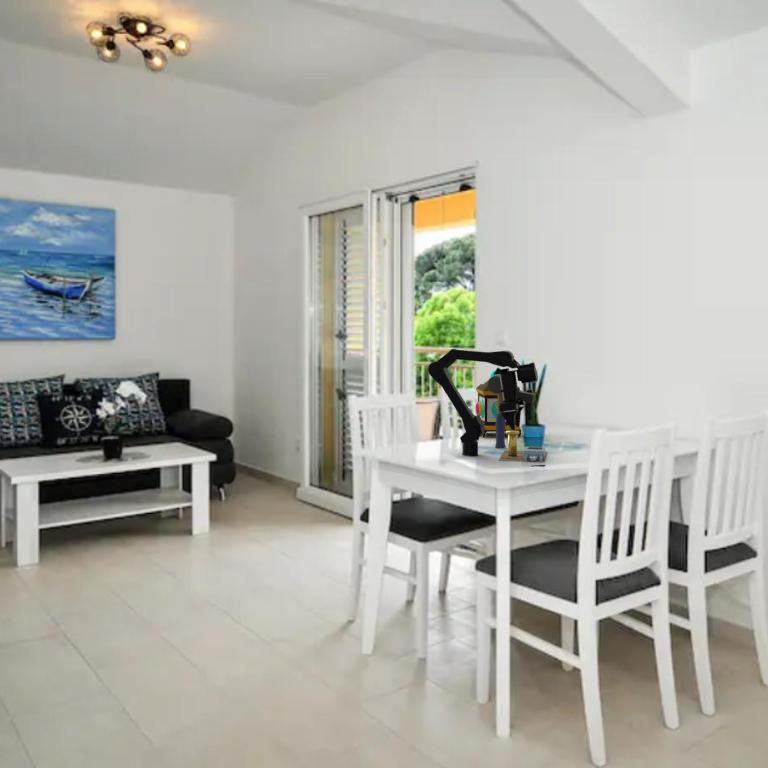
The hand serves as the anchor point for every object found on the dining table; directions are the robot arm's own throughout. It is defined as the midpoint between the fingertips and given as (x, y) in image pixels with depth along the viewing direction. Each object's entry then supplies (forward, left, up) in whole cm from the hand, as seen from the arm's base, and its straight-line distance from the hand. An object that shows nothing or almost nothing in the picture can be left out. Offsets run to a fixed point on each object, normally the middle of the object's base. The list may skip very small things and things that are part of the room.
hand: (515, 428), depth 277 cm
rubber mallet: (-21, +5, -12) cm, 25 cm away
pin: (-2, 0, -10) cm, 10 cm away
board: (0, +3, -12) cm, 12 cm away
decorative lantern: (-63, +25, -12) cm, 69 cm away
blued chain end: (+6, +4, -10) cm, 12 cm away
